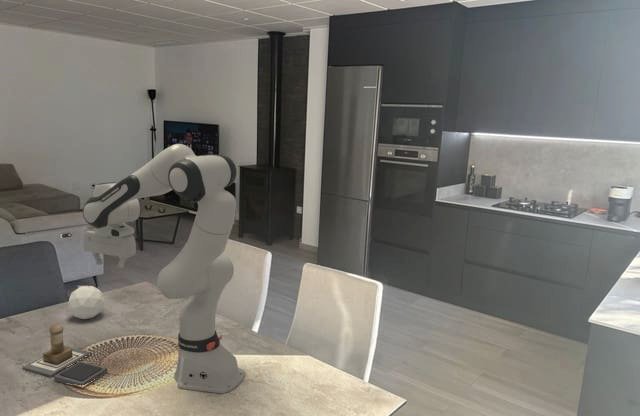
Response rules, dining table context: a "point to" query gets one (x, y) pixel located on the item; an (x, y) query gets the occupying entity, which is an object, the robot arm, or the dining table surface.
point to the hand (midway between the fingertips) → (109, 266)
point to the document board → (52, 369)
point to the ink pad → (80, 373)
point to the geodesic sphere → (86, 302)
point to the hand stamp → (57, 347)
